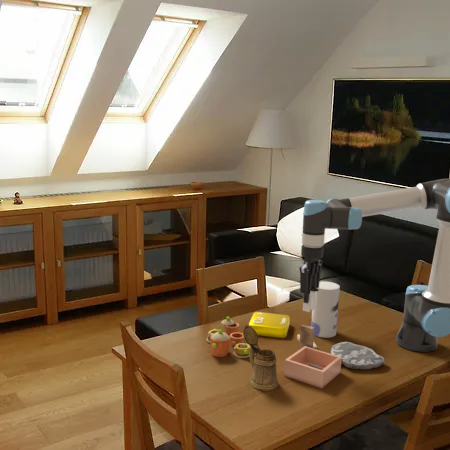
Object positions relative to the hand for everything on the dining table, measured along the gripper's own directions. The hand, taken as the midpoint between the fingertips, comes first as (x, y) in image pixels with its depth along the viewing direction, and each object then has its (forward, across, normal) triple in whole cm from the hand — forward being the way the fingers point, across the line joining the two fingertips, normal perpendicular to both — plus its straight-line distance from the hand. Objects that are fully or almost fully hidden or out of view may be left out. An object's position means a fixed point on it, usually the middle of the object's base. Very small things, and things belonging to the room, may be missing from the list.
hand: (308, 309), depth 203 cm
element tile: (+19, -15, -24) cm, 34 cm away
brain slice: (+19, -9, +15) cm, 26 cm away
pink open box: (+18, +10, +8) cm, 22 cm away
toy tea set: (+19, +9, -28) cm, 35 cm away
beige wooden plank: (+19, -11, -5) cm, 22 cm away
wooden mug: (+19, +26, -4) cm, 32 cm away
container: (+19, -25, -5) cm, 32 cm away
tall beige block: (+18, 0, 0) cm, 18 cm away
